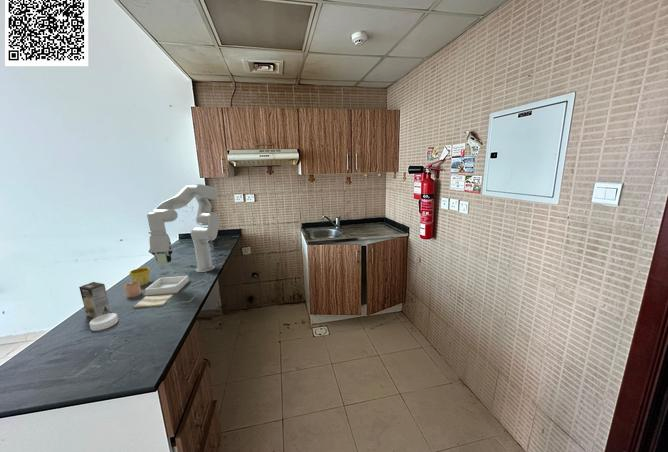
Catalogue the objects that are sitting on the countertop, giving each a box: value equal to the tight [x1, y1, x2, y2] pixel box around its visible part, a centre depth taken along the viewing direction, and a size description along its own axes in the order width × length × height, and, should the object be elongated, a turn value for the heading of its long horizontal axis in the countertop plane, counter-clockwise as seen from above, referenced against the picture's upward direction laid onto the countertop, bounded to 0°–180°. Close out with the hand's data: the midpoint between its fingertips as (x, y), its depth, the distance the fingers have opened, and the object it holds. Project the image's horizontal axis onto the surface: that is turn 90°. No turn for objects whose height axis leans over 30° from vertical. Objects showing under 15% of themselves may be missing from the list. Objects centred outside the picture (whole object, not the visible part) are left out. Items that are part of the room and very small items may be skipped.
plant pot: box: [129, 267, 151, 287], centre depth 168 cm, size 10×10×10 cm
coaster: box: [89, 312, 119, 332], centre depth 124 cm, size 10×10×4 cm
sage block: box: [155, 252, 172, 266], centre depth 157 cm, size 5×5×7 cm
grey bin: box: [144, 275, 190, 297], centre depth 160 cm, size 17×17×4 cm
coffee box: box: [78, 281, 111, 319], centre depth 132 cm, size 9×6×16 cm
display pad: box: [132, 293, 175, 309], centre depth 145 cm, size 12×15×1 cm
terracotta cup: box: [124, 280, 143, 299], centre depth 152 cm, size 7×7×8 cm
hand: (164, 261), depth 157 cm, fingers closed on sage block, 5 cm apart
